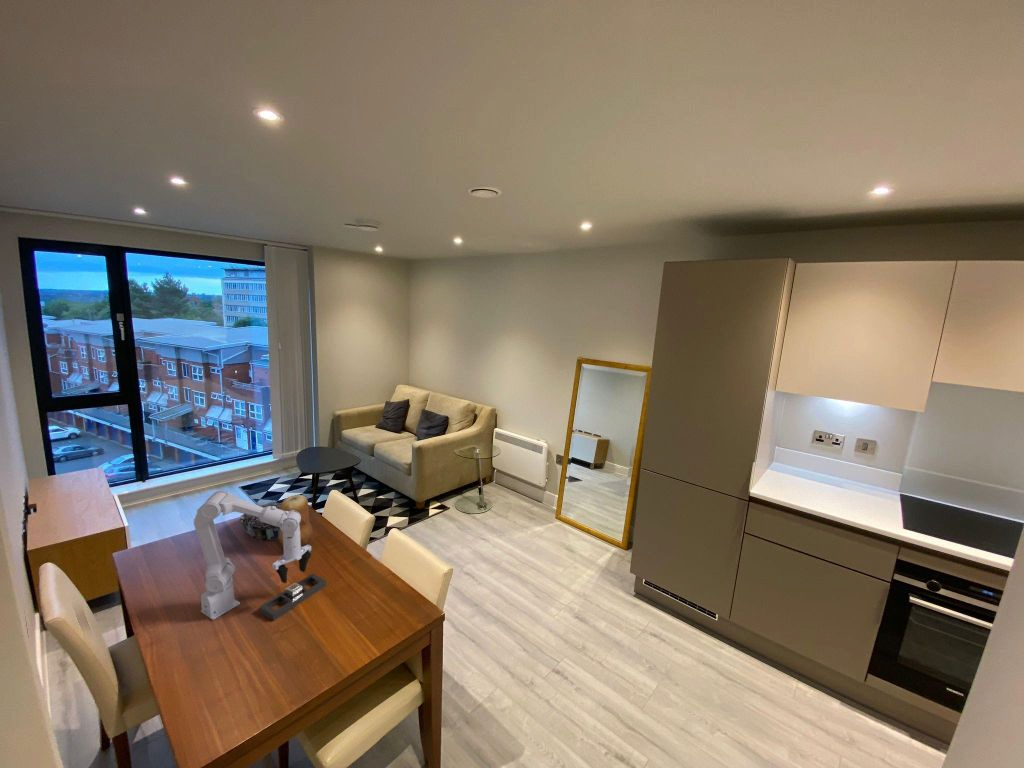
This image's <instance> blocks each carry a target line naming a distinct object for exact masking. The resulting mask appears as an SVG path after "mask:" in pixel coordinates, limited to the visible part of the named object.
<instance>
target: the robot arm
mask: <svg viewBox="0 0 1024 768" xmlns="http://www.w3.org/2000/svg"><path fill="white" fill-rule="evenodd" d="M260 506H261V505H257V504H255V503H253V502H249V501H247V500H244V499H242V498H239V497H237V496H236V495H235V494H234V493H231V492H227V491H224V490H216V491H215V492H214V493H212V494H211V495H210V497H208V498H207V500H206V501H205V502H204V503H203V504H202V505H201V506H200V507H199V508H198V509H196V514H195V518H194V519H193V525H194V529H195V531H196V532H195V533H196V534H197V537H198V542H199V544H200V547H201V551H202V554H203V556H204V560H205V562H206V566H207V567H206V571H205V576H204V577H205V584H204V586H205V587H204V588H205V589H206V591H205V592H204V593H202V594H201V595H200V604H201V605H200V606H201V610H200V613H202V614H203V615H205V616H206V617H208V618H209V619H211V620H212V621H213V620H215V619H217V618H219V617H220V616H222V615H224V614H226V613H228V612H229V611H231V610H233V609H234V608H237V606H239V605H240V604H241V602H240V601H238V600H237V599H236V598H235V592H234V580H233V576H232V575H233V574H234V573H235V570H236V568H235V565H234V564H233V563H232V562H231V560H230V558H229V557H225V554H224V551H223V547H222V545H221V541H220V538H219V535H218V532H217V528H216V524H215V522H214V520H215V519H216V518H218V517H219V516H220V515H221V513H222V516H223V517H224V516H226V515H228V514H232V513H234V512H236V513H239V514H248V515H252V516H256V517H259V519H260V521H261V522H264V523H267V524H271V525H274V526H277V525H278V526H277V527H280V529H281V530H282V531H283V546H282V548H283V555H281V556H280V558H279V559H277V560H276V561H275V562H273V563H272V565H271V566H272V570H274V571H276V573H277V574H278V576H279V579H280V581H281V583H283V584H286V583H287V582H288V569H289V568H288V567H287V566H286V564H288V563H291V562H294V561H298V563H299V564H298V566H299V571H301V572H302V573H304V572H305V571H306V568H307V564H308V561H309V560H310V558H311V556H312V553H311V551H312V546H311V545H310V544H307V545H306V546H303V547H301V541H300V525H299V523H300V521H301V515H300V513H299V512H297V511H295V510H292V511H283V510H280V509H277V508H276V507H275V506H272V507H271V506H268V507H265V508H263V507H260Z"/></svg>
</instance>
